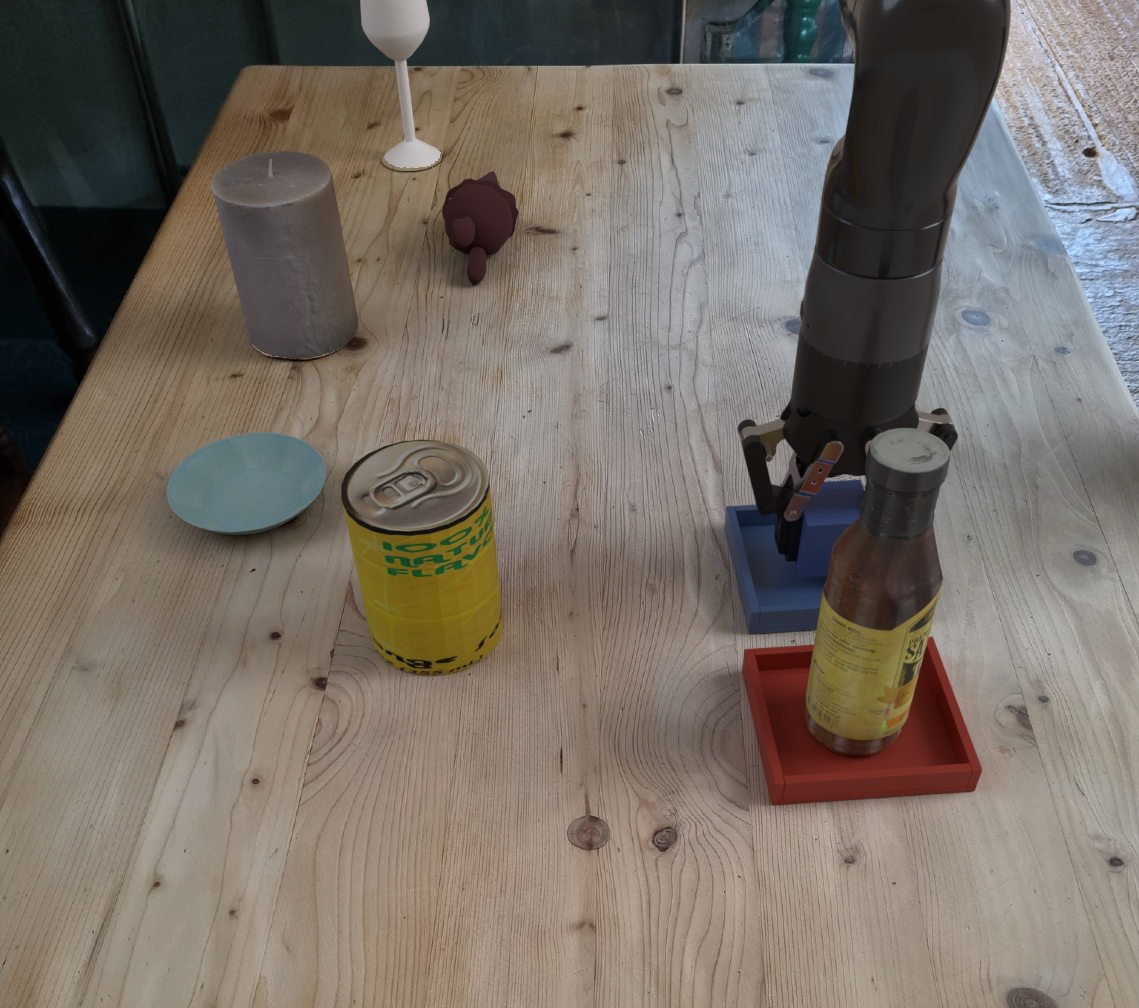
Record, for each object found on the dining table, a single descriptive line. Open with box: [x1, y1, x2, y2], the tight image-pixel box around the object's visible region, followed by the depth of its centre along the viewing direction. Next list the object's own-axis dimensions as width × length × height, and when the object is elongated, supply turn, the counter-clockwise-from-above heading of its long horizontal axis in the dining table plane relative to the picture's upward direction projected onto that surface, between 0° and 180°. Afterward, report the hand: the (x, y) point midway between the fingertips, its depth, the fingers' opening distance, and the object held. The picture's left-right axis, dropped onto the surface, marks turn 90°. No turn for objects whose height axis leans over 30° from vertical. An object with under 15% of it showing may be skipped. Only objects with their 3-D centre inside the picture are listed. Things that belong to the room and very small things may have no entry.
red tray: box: [741, 636, 983, 806], centre depth 75 cm, size 12×11×2 cm
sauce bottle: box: [805, 428, 951, 756], centre depth 68 cm, size 6×6×20 cm
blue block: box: [795, 479, 865, 578], centre depth 82 cm, size 4×4×4 cm
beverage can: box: [340, 439, 504, 677], centre depth 78 cm, size 9×9×12 cm
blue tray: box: [723, 504, 828, 635], centre depth 84 cm, size 12×11×2 cm
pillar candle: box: [209, 150, 359, 360], centre depth 102 cm, size 10×10×15 cm
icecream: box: [441, 171, 520, 286], centre depth 114 cm, size 7×7×15 cm
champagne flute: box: [359, 0, 441, 168], centre depth 121 cm, size 7×7×24 cm
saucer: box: [166, 431, 327, 536], centre depth 91 cm, size 12×12×2 cm
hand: (826, 550), depth 83 cm, fingers closed on blue block, 4 cm apart
